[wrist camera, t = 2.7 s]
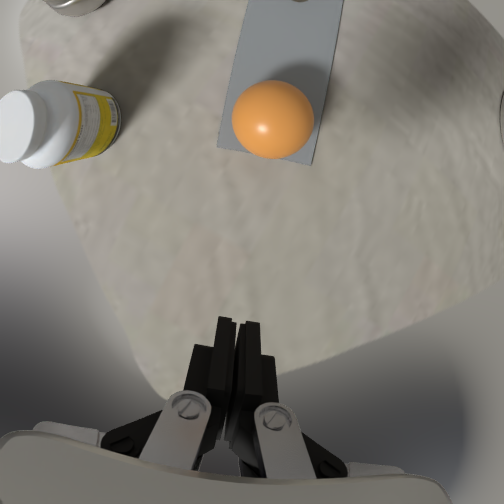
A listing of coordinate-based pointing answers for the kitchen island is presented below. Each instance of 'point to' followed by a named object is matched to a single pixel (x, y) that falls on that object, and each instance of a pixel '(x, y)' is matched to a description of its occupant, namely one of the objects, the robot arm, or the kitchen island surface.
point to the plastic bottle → (74, 6)
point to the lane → (284, 58)
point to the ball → (272, 119)
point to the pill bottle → (56, 124)
